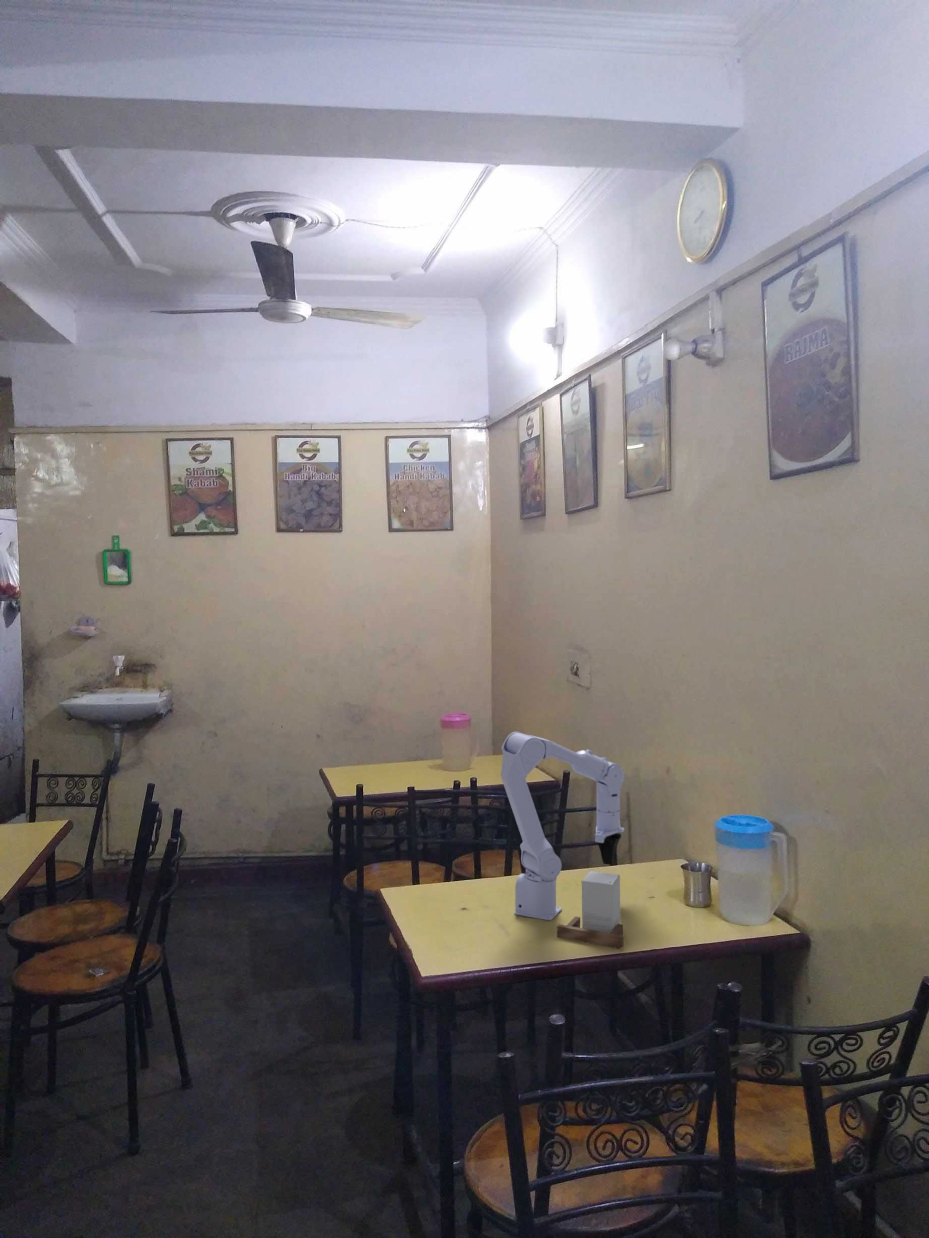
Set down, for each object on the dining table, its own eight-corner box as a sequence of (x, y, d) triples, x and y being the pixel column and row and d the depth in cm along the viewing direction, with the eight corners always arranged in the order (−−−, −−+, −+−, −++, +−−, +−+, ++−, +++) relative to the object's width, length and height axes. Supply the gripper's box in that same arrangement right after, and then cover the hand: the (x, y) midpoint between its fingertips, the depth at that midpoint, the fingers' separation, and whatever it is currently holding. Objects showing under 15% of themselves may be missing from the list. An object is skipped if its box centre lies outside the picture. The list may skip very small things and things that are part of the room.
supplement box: (621, 927, 207) (621, 874, 206) (612, 939, 200) (613, 884, 199) (590, 922, 210) (590, 869, 209) (581, 934, 203) (581, 879, 202)
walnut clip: (557, 936, 202) (557, 925, 202) (567, 925, 208) (567, 914, 208) (621, 948, 195) (621, 937, 195) (631, 936, 202) (631, 925, 201)
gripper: (615, 818, 215) (614, 874, 215) (631, 804, 228) (631, 857, 228) (587, 815, 218) (586, 870, 219) (605, 801, 231) (605, 853, 231)
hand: (607, 863), depth 224 cm, fingers closed
